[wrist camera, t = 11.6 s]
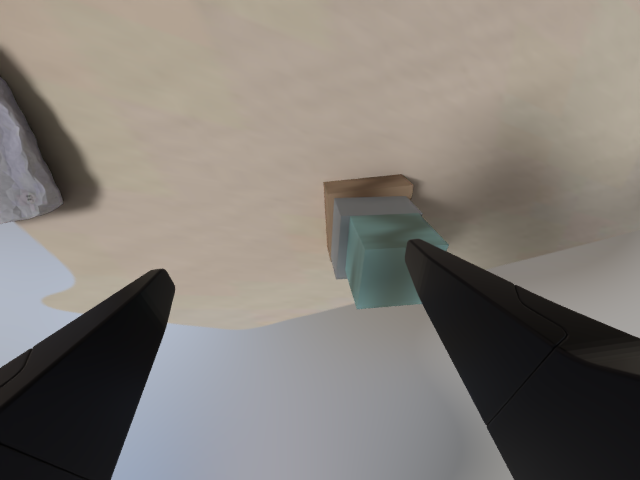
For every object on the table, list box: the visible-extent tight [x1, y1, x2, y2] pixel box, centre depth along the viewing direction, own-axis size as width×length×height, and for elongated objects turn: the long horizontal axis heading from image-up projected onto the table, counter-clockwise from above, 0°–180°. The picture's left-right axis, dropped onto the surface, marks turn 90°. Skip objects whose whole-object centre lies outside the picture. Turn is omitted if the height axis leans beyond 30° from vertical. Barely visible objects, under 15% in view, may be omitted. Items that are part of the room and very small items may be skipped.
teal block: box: [345, 213, 449, 309], centre depth 17 cm, size 5×5×4 cm
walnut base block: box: [324, 174, 414, 262], centre depth 22 cm, size 7×7×3 cm
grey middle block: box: [331, 196, 423, 279], centre depth 20 cm, size 6×6×3 cm
